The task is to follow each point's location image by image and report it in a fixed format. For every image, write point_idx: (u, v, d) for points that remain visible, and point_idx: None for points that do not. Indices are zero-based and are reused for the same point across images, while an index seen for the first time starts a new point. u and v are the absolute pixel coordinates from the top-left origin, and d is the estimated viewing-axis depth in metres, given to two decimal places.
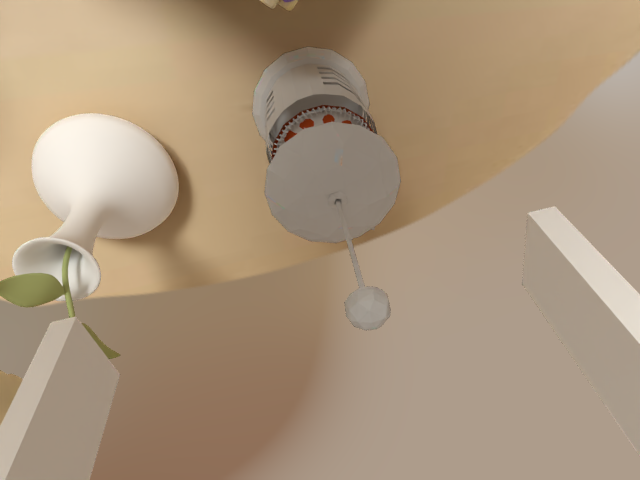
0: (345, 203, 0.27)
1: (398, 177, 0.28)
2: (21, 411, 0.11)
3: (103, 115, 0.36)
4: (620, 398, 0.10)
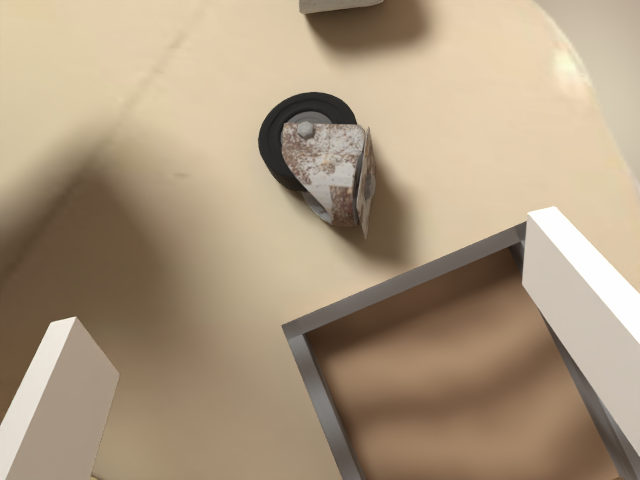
0: None
1: None
2: (21, 411, 0.11)
3: None
4: (620, 398, 0.10)
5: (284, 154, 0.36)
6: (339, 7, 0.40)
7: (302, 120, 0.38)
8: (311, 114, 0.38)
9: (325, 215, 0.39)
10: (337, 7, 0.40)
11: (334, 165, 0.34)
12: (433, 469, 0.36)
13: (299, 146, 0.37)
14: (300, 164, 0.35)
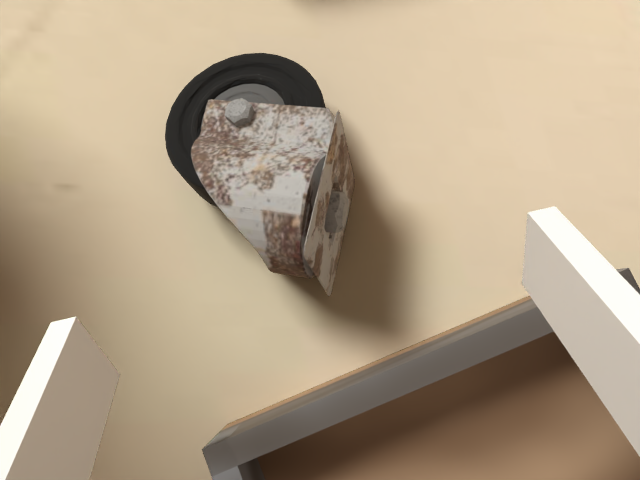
0: None
1: None
2: (21, 411, 0.11)
3: None
4: (620, 398, 0.10)
5: (194, 150, 0.21)
6: None
7: (238, 97, 0.24)
8: (253, 87, 0.24)
9: None
10: None
11: (273, 174, 0.19)
12: None
13: (226, 138, 0.22)
14: (217, 170, 0.20)
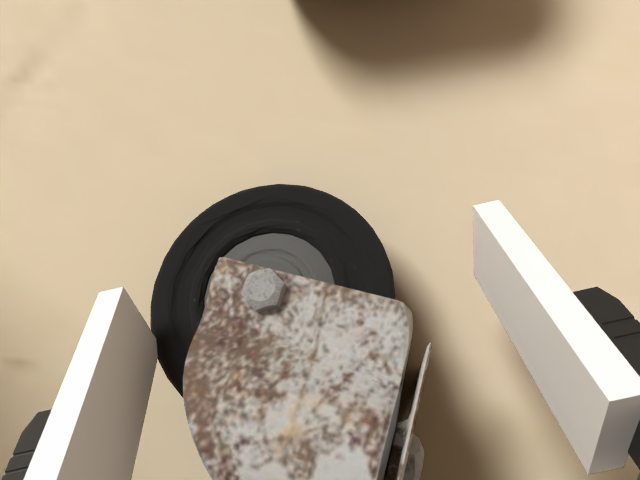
0: None
1: None
2: (81, 370, 0.11)
3: None
4: (546, 377, 0.11)
5: (189, 370, 0.13)
6: None
7: (264, 256, 0.16)
8: (286, 242, 0.16)
9: None
10: None
11: (315, 451, 0.12)
12: None
13: (241, 333, 0.14)
14: (222, 419, 0.12)
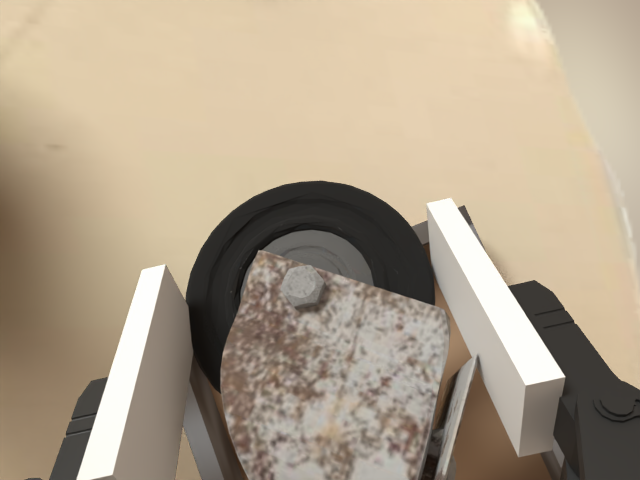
0: None
1: None
2: (133, 340, 0.12)
3: None
4: (485, 366, 0.11)
5: (226, 362, 0.13)
6: None
7: (303, 253, 0.16)
8: (327, 240, 0.16)
9: None
10: None
11: (353, 454, 0.11)
12: None
13: (278, 328, 0.14)
14: (259, 414, 0.12)
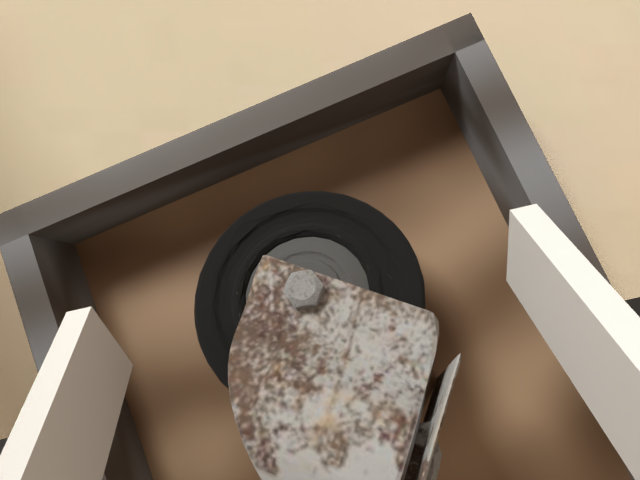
0: None
1: None
2: (41, 397, 0.11)
3: None
4: (596, 391, 0.10)
5: (233, 358, 0.14)
6: None
7: (304, 258, 0.17)
8: (326, 247, 0.17)
9: None
10: None
11: (348, 442, 0.13)
12: None
13: (280, 327, 0.16)
14: (263, 405, 0.13)
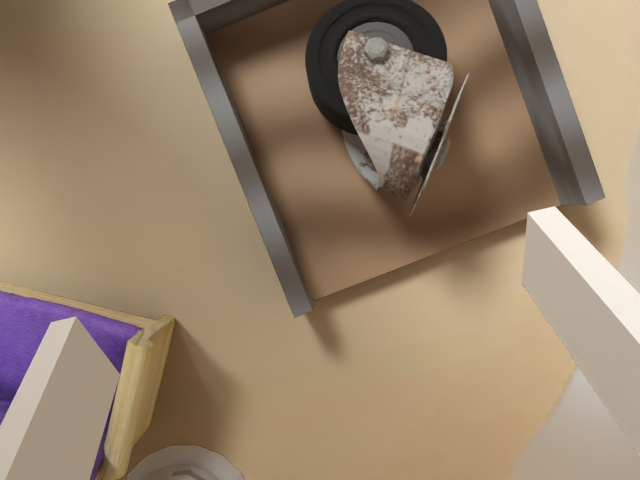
0: None
1: None
2: (21, 411, 0.11)
3: None
4: (620, 398, 0.10)
5: (341, 79, 0.25)
6: None
7: (374, 33, 0.27)
8: (387, 27, 0.27)
9: (366, 170, 0.30)
10: None
11: (407, 116, 0.24)
12: (354, 197, 0.31)
13: (362, 71, 0.26)
14: (360, 101, 0.25)
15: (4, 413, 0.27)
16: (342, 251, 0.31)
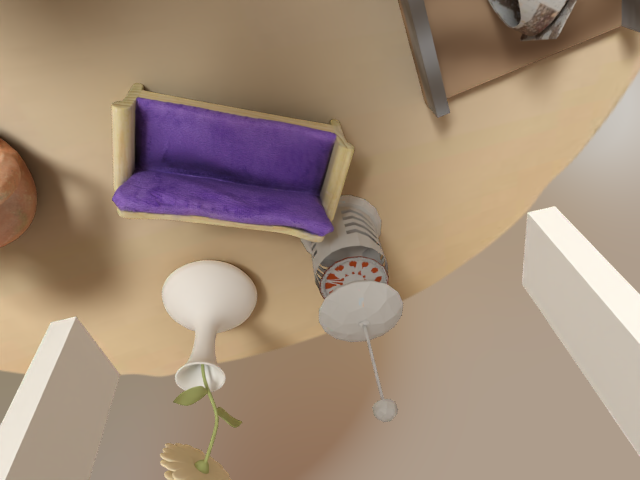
0: (369, 325, 0.43)
1: (401, 302, 0.44)
2: (21, 411, 0.11)
3: (204, 261, 0.54)
4: (620, 398, 0.10)
5: None
6: None
7: None
8: None
9: (496, 5, 0.40)
10: None
11: None
12: (480, 24, 0.42)
13: None
14: None
15: (261, 192, 0.44)
16: (465, 65, 0.44)
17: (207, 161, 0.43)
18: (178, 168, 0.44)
